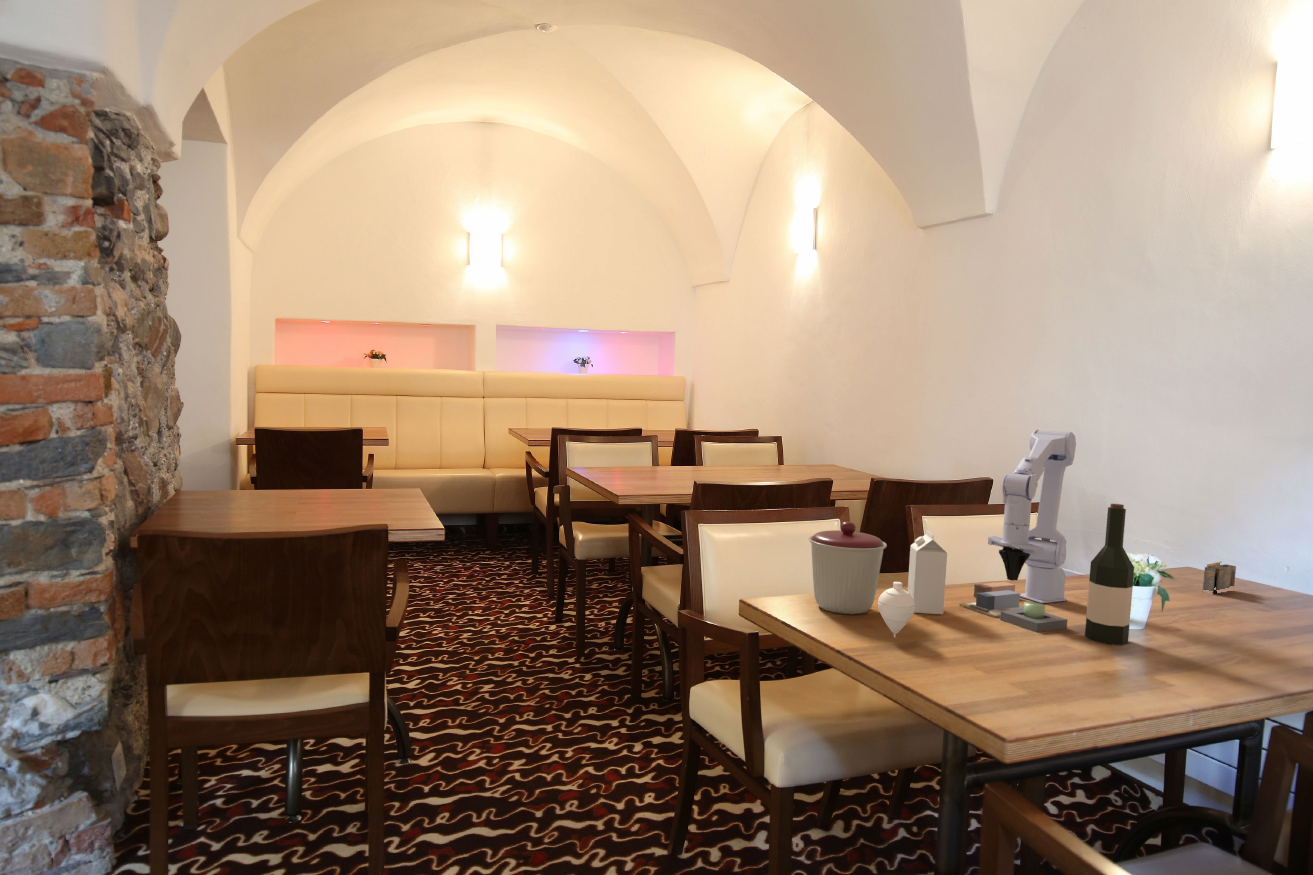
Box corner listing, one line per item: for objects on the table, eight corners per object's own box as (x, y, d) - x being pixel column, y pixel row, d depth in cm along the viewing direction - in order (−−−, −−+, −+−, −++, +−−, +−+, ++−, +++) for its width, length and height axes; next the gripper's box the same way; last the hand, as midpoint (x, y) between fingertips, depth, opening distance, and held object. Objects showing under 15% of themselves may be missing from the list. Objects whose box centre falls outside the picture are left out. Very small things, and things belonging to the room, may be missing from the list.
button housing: (1029, 615, 196) (1030, 607, 196) (1066, 627, 187) (1067, 619, 187) (1000, 619, 191) (1000, 611, 191) (1036, 631, 182) (1037, 623, 182)
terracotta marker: (1003, 594, 217) (1004, 581, 216) (1014, 597, 214) (1015, 584, 213) (973, 597, 212) (974, 584, 212) (984, 600, 209) (984, 587, 209)
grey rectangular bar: (1007, 603, 205) (1008, 589, 204) (1018, 606, 202) (1019, 593, 201) (975, 606, 200) (976, 593, 200) (986, 610, 197) (987, 596, 197)
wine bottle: (1084, 640, 177) (1095, 504, 176) (1084, 631, 185) (1095, 500, 183) (1128, 647, 174) (1140, 508, 172) (1127, 638, 181) (1138, 504, 179)
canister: (826, 594, 208) (831, 513, 206) (894, 609, 196) (900, 523, 195) (791, 607, 194) (795, 520, 192) (861, 624, 182) (867, 531, 181)
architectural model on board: (1214, 596, 227) (1217, 562, 226) (1202, 593, 229) (1205, 559, 229) (1235, 593, 232) (1238, 559, 231) (1223, 590, 235) (1226, 557, 234)
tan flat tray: (999, 601, 209) (999, 597, 209) (1036, 612, 199) (1036, 608, 199) (959, 605, 203) (959, 601, 203) (995, 617, 193) (995, 613, 193)
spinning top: (915, 645, 169) (918, 588, 168) (877, 641, 170) (880, 584, 170) (911, 634, 176) (914, 579, 176) (874, 630, 178) (878, 576, 177)
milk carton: (936, 607, 200) (941, 530, 199) (943, 615, 193) (948, 536, 192) (906, 605, 201) (911, 529, 200) (912, 613, 194) (917, 534, 192)
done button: (1032, 613, 192) (1033, 601, 192) (1048, 618, 188) (1049, 605, 188) (1019, 615, 190) (1020, 602, 190) (1035, 620, 186) (1036, 607, 186)
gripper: (980, 519, 200) (976, 573, 201) (1030, 529, 187) (1025, 588, 188) (1001, 518, 203) (997, 572, 204) (1051, 528, 190) (1047, 586, 191)
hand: (1012, 579), depth 196 cm, fingers closed
